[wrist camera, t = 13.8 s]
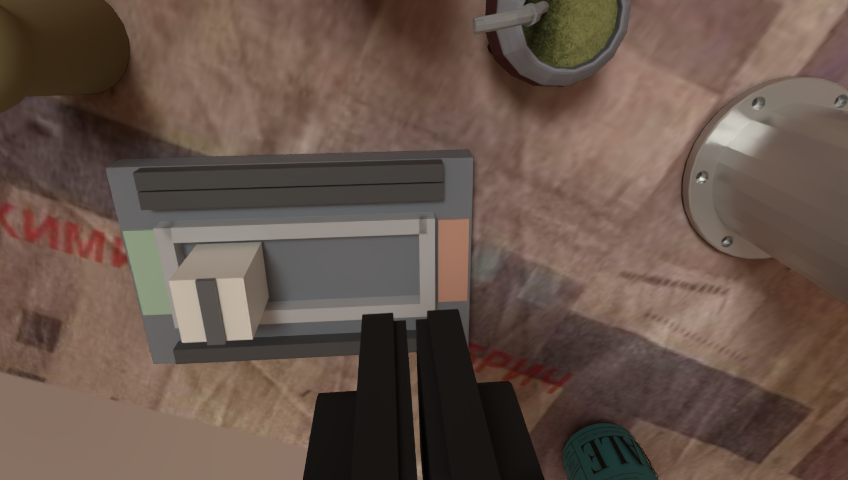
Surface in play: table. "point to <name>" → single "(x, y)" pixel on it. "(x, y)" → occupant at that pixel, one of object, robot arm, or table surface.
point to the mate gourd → (553, 37)
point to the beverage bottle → (605, 455)
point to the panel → (302, 242)
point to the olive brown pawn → (59, 48)
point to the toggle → (220, 292)
